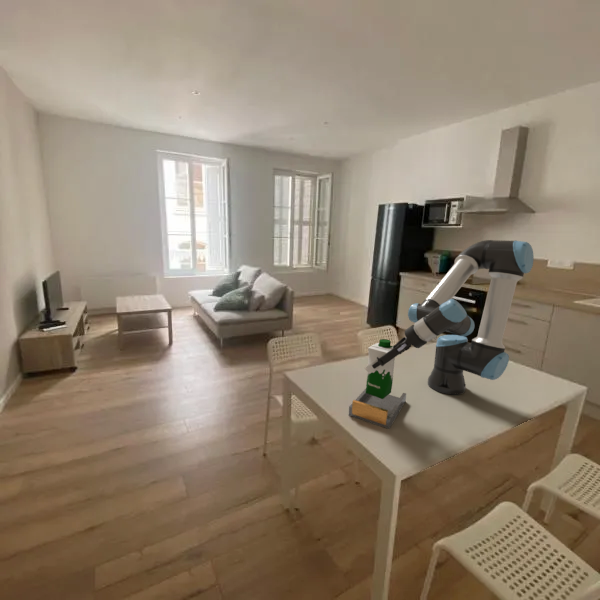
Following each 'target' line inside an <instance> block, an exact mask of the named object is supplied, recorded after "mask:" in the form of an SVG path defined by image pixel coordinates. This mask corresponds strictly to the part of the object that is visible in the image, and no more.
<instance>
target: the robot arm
mask: <svg viewBox="0 0 600 600" xmlns="http://www.w3.org/2000/svg"><path fill="white" fill-rule="evenodd" d="M534 258H535V257H534V250H533V247H532V245H531V244H530V242H528V241H523V240H522V241H521V240H496V239H495V240H493V239H485V240H481V241H478V242H475V243H473V244H471V245H469V246H468V247H466V248H464V249H463V250H462V251H461V252H460V253H459V254H458V255H457V256H456V257H455V259H454V263H453V265H452V267H451V268H450V269H449V270H448V271H447V273H446V274H445V275H444V276H442V279H441V280H439V282H438V283H437V284H436V286H435V287H434V288H433V289H432V290H431V292H430V293H429V294H428V295H427V296H426V298H425V299H424V300H423V301H422V302H421V303H419V302H418V303H417V302H415V303H412V304H411V305H410V307H409V309H408V312H407V316H408V317H407V318H408V319H409V321H410V322H412V323H414V324H412V325H410V326H409V327H408V328H406V329H405V330H404V336H403V337H402V338H400V340H399V341H397V342H396V344H393V345H392V346H393V349H392V350H390V351H389V352H387V353H386V354H385V355H383V356H382V357H381V358H378V357H377V360H375V361H374V362H372V363H371V364H369V365H368V364H367V365H366V366H365V367H364V369H365V370H366V373H367V372H368V373H369V374H370V373H372V372H373V371H375V370H376V369H378V368H379V367H381V366H384V365H385V364H386V363H387V362H389V361H390V360H392V359H393V358H395V359H396V357H397V356H399V355H401V354H403V353H404V352H405V351H408V350H409V349H411V347H414V348H416V349H420V348H421V347H424V346H425V345H427V343H428V342H430V341H432V340H436V344H435V353H434V362H433V363H434V364H433V369H432V370H431V372H430V374H429V376H428V379H427V385H428V387H429V388H431V389H432V390H434V391H437V392H439V393H440V394H441V393H442V394H445V395H453V396H455V395H462V394H464V393H465V392H466V389H467V388H466V387H467V386H466V382H465V381H466V380H465V377H464V371H465V372H468V373H470V374H474V375H476V376H477V377H481V378H482V379H488V380H490V381H495V380H498V379H499V378H501V377H502V375H503V374H504V372H505V371H506V369H507V367H508V364H509V360H510V355H509V353H507V352H506V351H505V350H506V346H505V345H504V343H503V339H504V335H505V332H506V327H507V324H508V321H509V315H510V311H511V307H512V303H513V299H514V296H515V291H516V287H517V285H518V281H520V280H522V279H523V278H524V275H525V274H528V273H529V274H530V272H531V270H532V268H533V266H534ZM482 269H483V270H488V273H487V274H488V275H489V277H490V278H491V279H490V283H489V286H488V290H487V293H486V294H487V295H486V299H485V303H484V307H483V312H482V315H481V320H480V324H479V326H478V327H479V328H478V333H477V336H476V337H474V338H472V339H471V342H468V341H469V340H468V337H467V336H469V335H471V334H472V333H473V332H474V329H475V321H474V320H473V319H472V318H471V317H470V316H469V315H468V314H467V311H466V309H465V308H464V307H463V306H462V304H461V303H460V302H458V300H456V299H454V297H455V295H457V293H458V292H459V290H460V289H461V288H462V287H463V285H464V284H465V283H466V281H467V280H468V279H469V278H470V276H471V275H474V274H476V273H477V272H478V271H479V270H482ZM445 332H446V333H450V334H445V335H443V333H445ZM438 336H439V337H438Z"/></svg>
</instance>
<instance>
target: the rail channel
mask: <svg viewBox="0 0 600 600" xmlns="http://www.w3.org/2000/svg"><path fill="white" fill-rule="evenodd" d="M406 400H407V393H406V392H403V393H401V395H400V397H399V396H397V395H392V394H389V395H387V396H386V397H385V398H384V399H381V398H378V397H375V396H373V395H370V394H367V393H366V388H365V389H364V390H363V391H362V392H361V393H360V394H359V395H358V396H357V398H355V399H353V400H352V403H350V405H349V406H348V416H349V417H353V418H355V419H358V420H362V421H363V422H364V421H365V422H367V423H370V424H373V425H376V426H380V427H382V428H385V429H388V430H390V428H391V427H392V425H393V423H394V422H395V420H396V418H397V417H398V415H399V413H400V412H401V410H402V408H403V407H404V405H405V403H406Z"/></svg>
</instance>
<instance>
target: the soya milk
mask: <svg viewBox="0 0 600 600" xmlns="http://www.w3.org/2000/svg"><path fill="white" fill-rule="evenodd" d="M378 341H379V342H376V343H374V344H372V345H370V346H368V348H367V351H368V360H367V361H368V362H367V366H368V365H369V364H371V363H372V362H374V361H375V360H377V357H378V358H381V357H382V356H383V355H385V354H386V353H387V352H389V351H390V350H392V349H393V346H394V345H391V344H392V343H391V340H390V339H384V338H381V339H379V340H378ZM395 359H396V357H395V358H393V359H392V360H390V361H389V362H387V363H386V364H385V365H384V366H381V367H379V368H378V369H376V370H375V371H373V372H372V373H370V374H369V373H368V372H367V371H366V373H367V374H366V385H365V389H366V393H367V394H370V395H373V396H375V397H378V398H381V399H384V398H385V397H386V396H387V395H391V393H392V389H393V379H394V370H395Z"/></svg>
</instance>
